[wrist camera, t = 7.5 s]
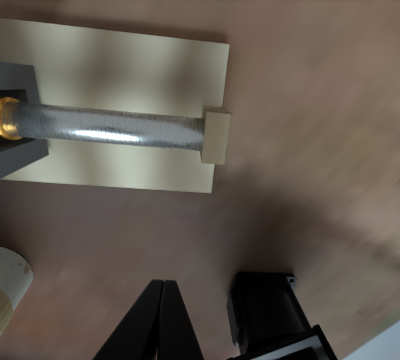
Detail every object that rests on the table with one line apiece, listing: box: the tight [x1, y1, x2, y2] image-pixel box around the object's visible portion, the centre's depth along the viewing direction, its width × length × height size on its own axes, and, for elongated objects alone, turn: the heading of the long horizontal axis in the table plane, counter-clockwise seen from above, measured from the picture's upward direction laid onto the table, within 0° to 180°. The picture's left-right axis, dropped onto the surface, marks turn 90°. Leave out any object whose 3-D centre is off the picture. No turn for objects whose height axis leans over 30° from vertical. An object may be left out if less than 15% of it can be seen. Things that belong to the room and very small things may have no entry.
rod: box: [0, 97, 205, 151], centre depth 13 cm, size 18×2×2 cm, turn 85°
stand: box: [0, 18, 231, 193], centre depth 15 cm, size 18×11×5 cm, turn 85°
